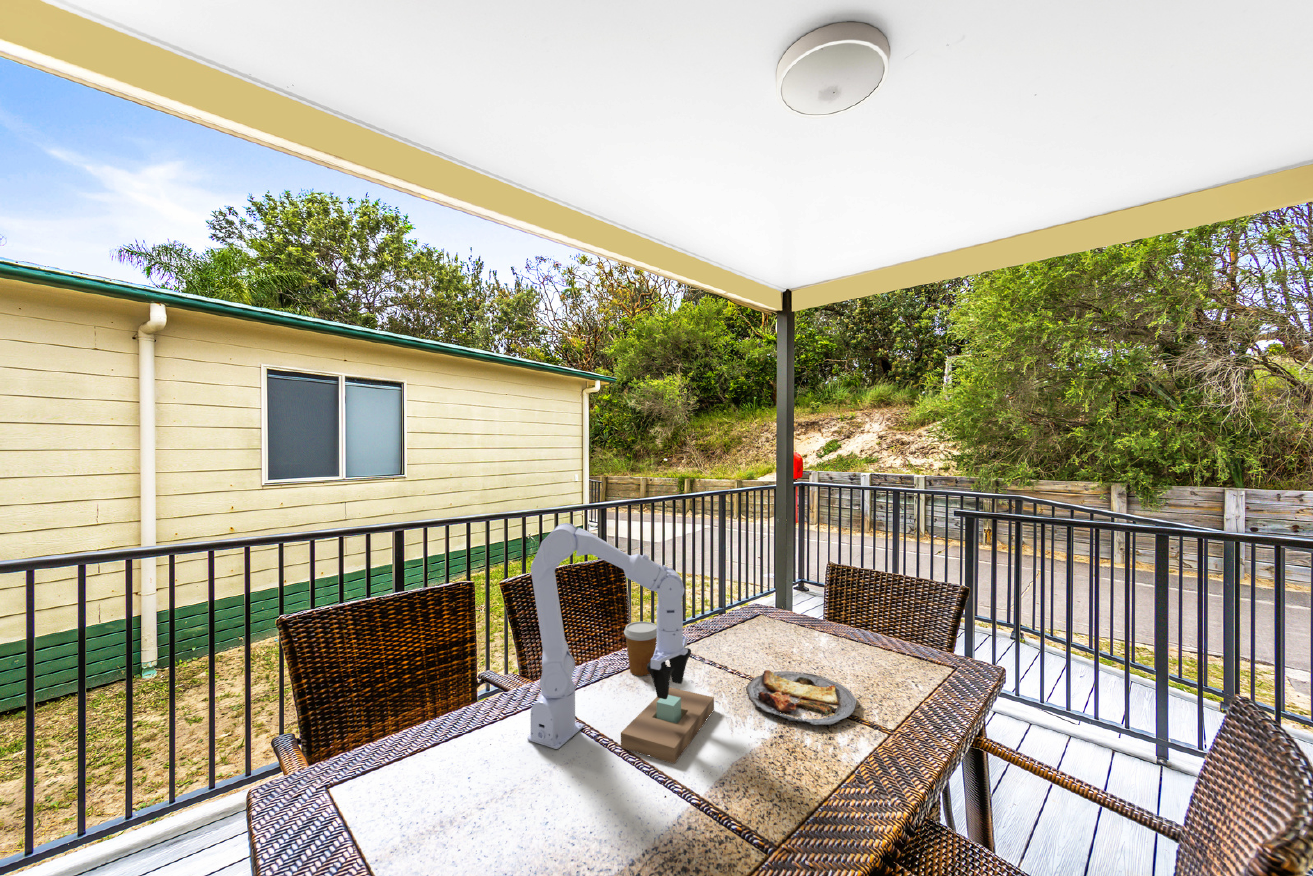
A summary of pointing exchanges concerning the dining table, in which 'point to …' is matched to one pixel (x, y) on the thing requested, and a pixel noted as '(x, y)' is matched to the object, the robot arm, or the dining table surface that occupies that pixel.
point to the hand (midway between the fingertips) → (669, 690)
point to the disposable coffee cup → (640, 645)
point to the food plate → (800, 696)
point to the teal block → (669, 709)
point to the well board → (667, 727)
